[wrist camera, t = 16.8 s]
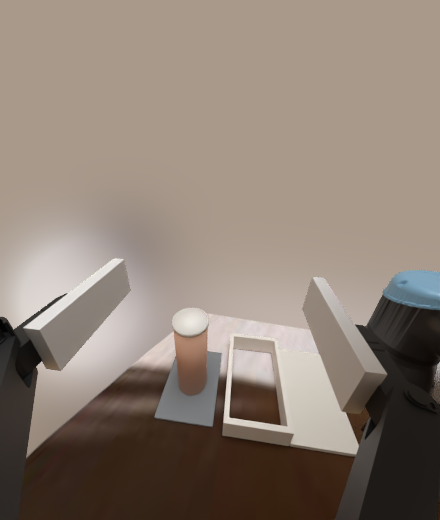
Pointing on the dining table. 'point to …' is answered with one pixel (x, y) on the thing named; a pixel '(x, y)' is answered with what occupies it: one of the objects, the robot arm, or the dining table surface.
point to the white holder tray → (294, 402)
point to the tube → (191, 349)
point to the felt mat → (191, 397)
